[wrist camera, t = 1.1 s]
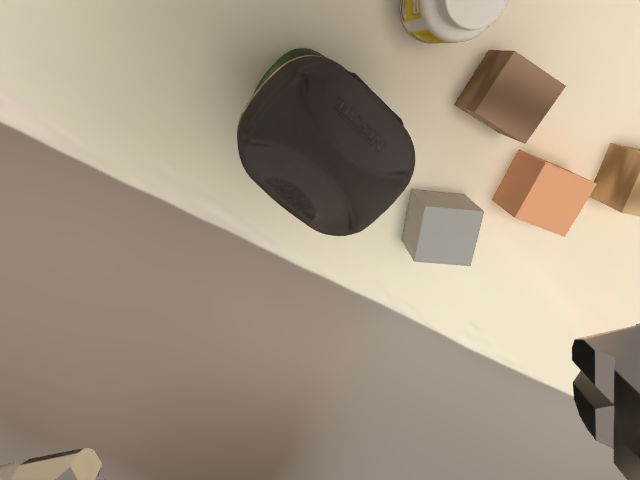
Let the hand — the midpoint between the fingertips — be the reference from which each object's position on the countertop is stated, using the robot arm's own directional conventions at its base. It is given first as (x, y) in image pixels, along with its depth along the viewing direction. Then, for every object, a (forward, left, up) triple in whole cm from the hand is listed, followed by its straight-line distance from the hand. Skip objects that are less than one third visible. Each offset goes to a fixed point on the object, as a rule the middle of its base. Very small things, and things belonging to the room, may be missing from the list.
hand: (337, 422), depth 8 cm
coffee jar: (-1, +1, -36) cm, 36 cm away
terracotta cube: (-2, +22, -36) cm, 42 cm away
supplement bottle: (-12, +7, -36) cm, 39 cm away
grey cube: (+4, +15, -36) cm, 39 cm away
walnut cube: (-8, +15, -36) cm, 40 cm away
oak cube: (-6, +30, -36) cm, 47 cm away
